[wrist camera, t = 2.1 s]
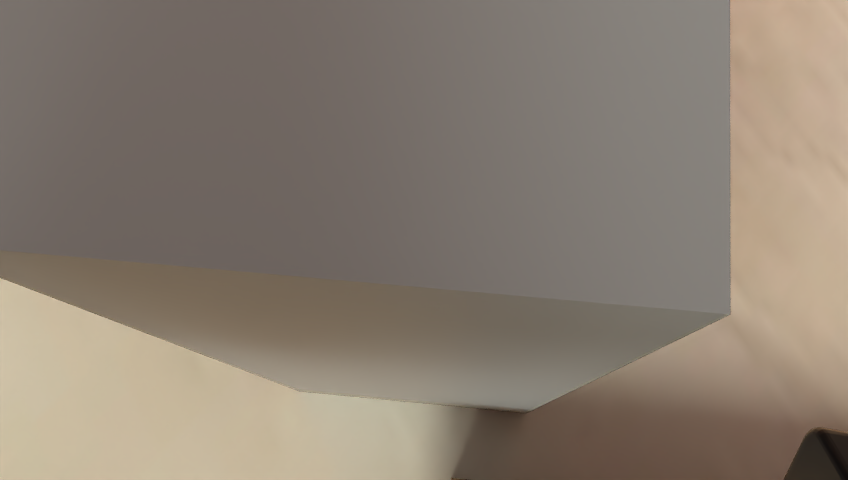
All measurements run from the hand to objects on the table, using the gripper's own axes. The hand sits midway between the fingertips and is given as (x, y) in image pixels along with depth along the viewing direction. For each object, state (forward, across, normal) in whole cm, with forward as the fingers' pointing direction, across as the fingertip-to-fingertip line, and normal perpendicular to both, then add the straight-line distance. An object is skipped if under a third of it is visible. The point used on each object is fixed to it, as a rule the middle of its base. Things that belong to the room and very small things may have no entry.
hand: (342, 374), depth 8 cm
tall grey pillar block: (+8, 0, +5) cm, 10 cm away
